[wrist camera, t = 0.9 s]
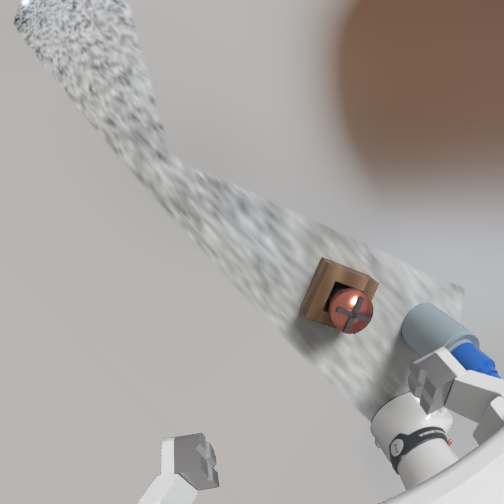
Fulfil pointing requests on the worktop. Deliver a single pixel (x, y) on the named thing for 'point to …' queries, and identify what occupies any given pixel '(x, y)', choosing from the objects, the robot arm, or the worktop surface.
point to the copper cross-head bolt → (349, 308)
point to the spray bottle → (444, 338)
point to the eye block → (323, 285)
